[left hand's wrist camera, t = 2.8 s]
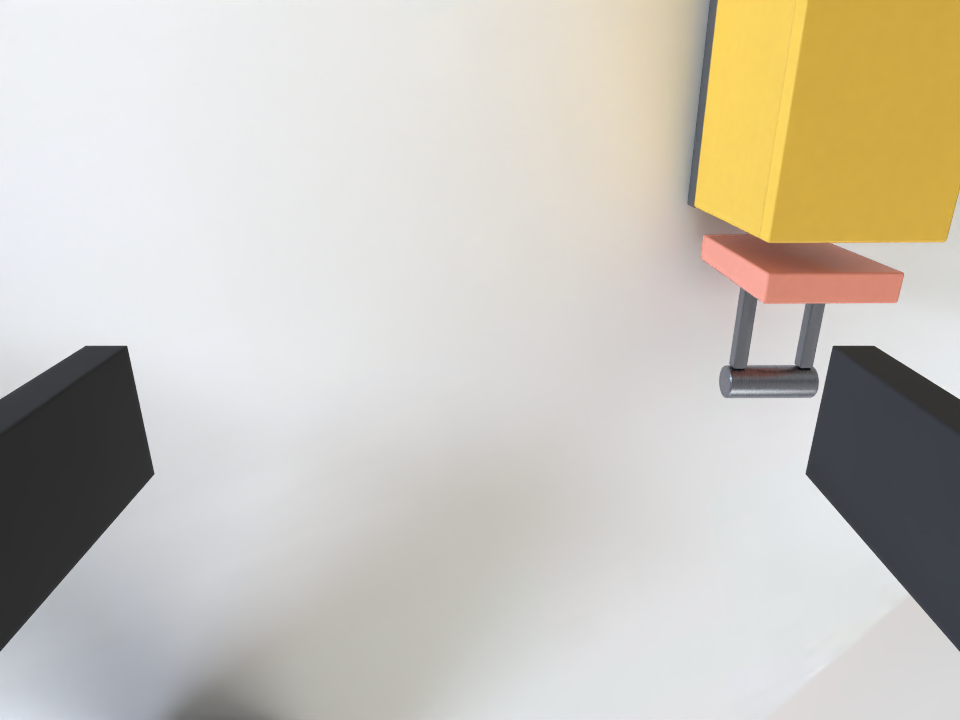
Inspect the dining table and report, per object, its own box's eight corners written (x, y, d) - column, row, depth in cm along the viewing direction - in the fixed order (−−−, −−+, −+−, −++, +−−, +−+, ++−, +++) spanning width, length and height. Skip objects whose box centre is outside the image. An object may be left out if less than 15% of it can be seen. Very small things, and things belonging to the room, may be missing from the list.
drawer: (785, 365, 34) (866, 436, 27) (686, 366, 34) (741, 436, 27) (902, -280, 24) (1076, -436, 17) (765, -280, 24) (883, -435, 17)
